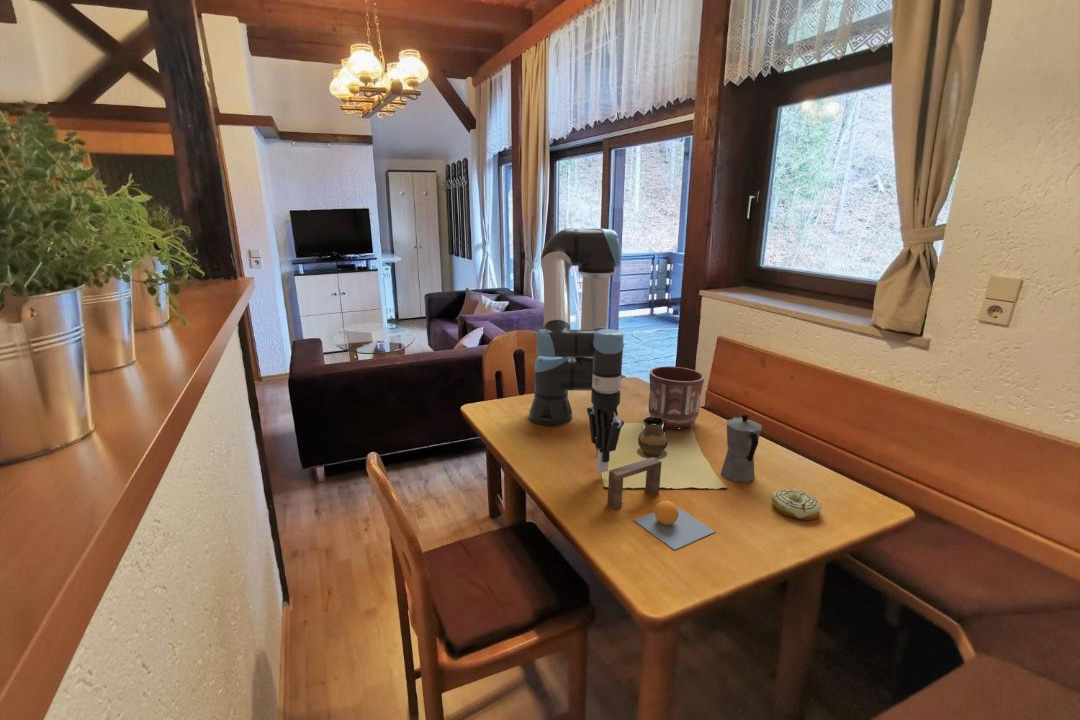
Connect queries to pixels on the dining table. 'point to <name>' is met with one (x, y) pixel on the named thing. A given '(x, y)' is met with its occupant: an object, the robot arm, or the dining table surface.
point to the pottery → (675, 395)
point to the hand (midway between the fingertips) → (602, 470)
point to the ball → (666, 512)
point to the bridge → (619, 473)
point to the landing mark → (676, 529)
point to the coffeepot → (741, 449)
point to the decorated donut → (796, 504)
